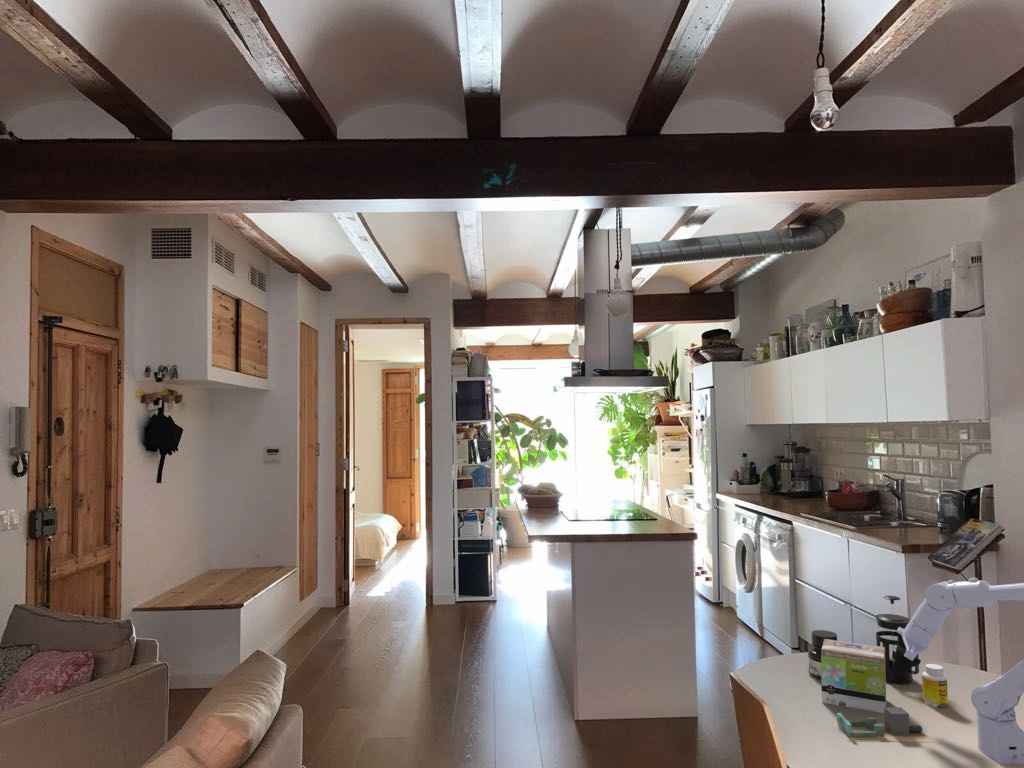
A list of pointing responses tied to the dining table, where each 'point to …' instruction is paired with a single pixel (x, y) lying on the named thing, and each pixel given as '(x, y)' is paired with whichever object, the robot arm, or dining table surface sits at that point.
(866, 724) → the board
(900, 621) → the french press
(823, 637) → the black pill bottle
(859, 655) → the tea box
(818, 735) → the dining table surface
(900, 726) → the block
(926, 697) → the supplement bottle
